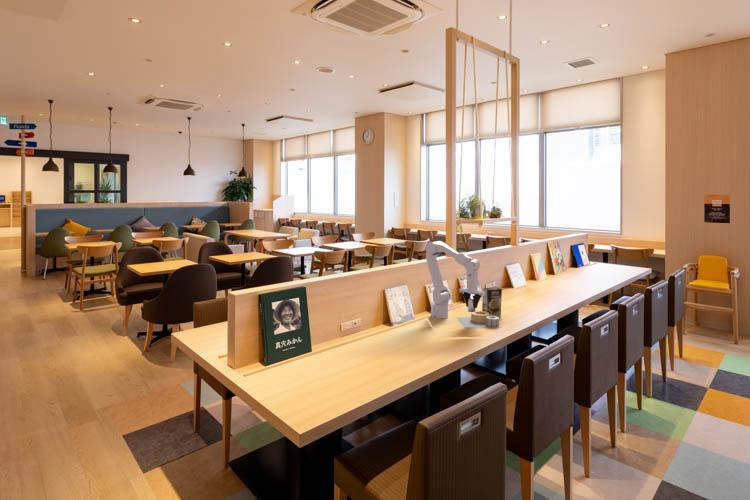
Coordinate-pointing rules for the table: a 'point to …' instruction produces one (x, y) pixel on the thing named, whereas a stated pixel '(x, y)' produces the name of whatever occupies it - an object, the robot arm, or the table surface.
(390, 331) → the table surface
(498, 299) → the coffee box
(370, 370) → the table surface
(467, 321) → the fitting board
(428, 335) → the table surface
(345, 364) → the table surface
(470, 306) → the metal cylinder
